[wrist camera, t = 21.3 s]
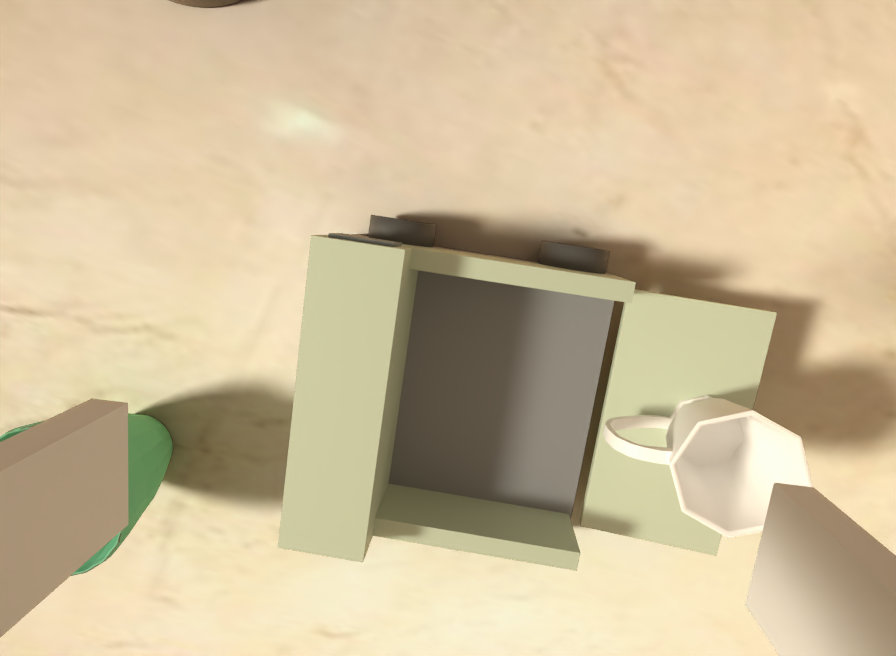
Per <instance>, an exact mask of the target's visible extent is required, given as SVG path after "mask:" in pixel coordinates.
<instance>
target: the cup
mask: <svg viewBox="0 0 896 656" xmlns="http://www.w3.org/2000/svg"><path fill="white" fill-rule="evenodd" d="M633 428H662V429H667V433H666V443H667V447H655V446H644V445H640V444H637V443H634V442H632V441H629V440H627V439H625V438H623V437H621V436H619V435H618V434H617V433H616V432H615V431H617V430H623V429H633ZM603 436H604V438H605V440H606V442H607V443H608V444H609V445H610V446H611V447H612V448H613V449H615V450H617V451H619V452H621V453H623V454H625V455H627V456H629V457H632V458H635V459H639V460H642V461H647V462H653V463H658V464H667V465H670V469H671V473H672V477H673V480H674V484H675V488H676V492H677V496H678V499H679V503H680V507H681V511H682V512H683V513H685V514H687V515H688V516H690V517H692V518H694V519H695V520H697V521H699V522H701V523H702V524H704V525H706V526H708V527H709V528H711V529H713V530H715V531H716V532H718V533H720V534H721V535H723V536H725V537H727V538H731V537H736V536H742V535H748V534H753V533H759V532H762V531H763V527H764V523H765V518H766V514H767V510H768V506H769V502H770V497H771V493H772V489H773V485H774V483H783V484H791V485H799V486H807V487H813V484H812V480H811V476H810V472H809V467H808V463H807V459H806V455H805V451H804V447H803V442H802V438H801V437H800V436H798V435H797V434H795V433H793V432H791V431H789V430H788V429H786V428H784V427H782V426H780V425H778V424H777V423H775V422H773V421H771V420H769V419H768V418H766V417H764V416H762V415H760V414H759V413H757V412H755V411H753V410H751V409H749V408H746V407H743V406H740V405H738V404H735V403H733V402H730V401H728V400H725V399H721V398H712V397H710V396H708V395H702V396H698V397H694V398H689V399H685V400H680V401H679V403H678V404H677V406H676V407H675V409H674V410H673V412H672V413H671V415H670V416H669V417H667V416H659V415H635V416H622V417H615V418H611V419H608V420H607V421H606V423H605V426H604V433H603Z"/></svg>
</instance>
